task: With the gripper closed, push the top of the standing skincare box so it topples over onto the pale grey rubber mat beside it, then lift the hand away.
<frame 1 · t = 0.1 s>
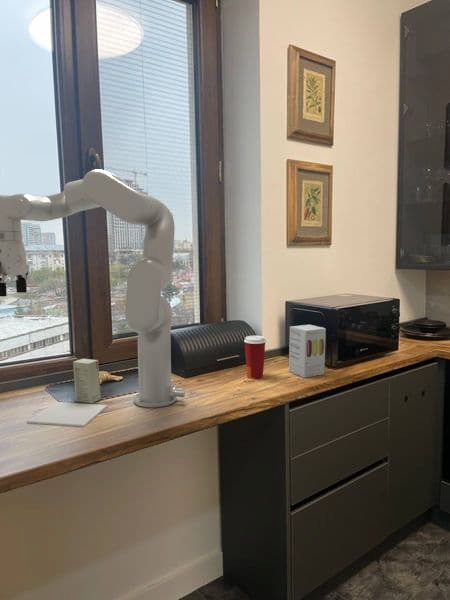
hand: (11, 294, 133), 31 cm above the worktop, tool pointing down, fingers open, 9 cm apart
supplement box: (306, 373, 157), on the worktop
skincare box: (88, 401, 130), on the worktop
paper cup: (254, 377, 153), on the worktop
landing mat: (69, 414, 119), on the worktop
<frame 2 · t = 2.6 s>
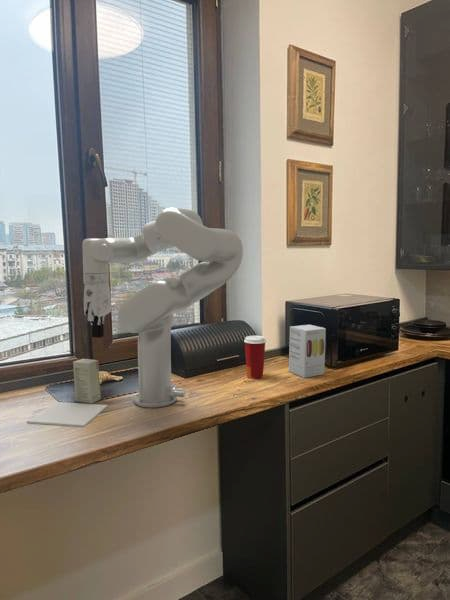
hand: (97, 336, 137), 17 cm above the worktop, tool pointing down, fingers closed
nothing on the worktop moved.
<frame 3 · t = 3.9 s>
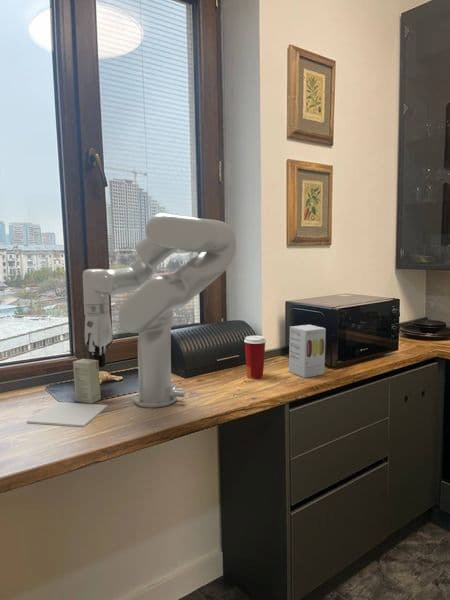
hand: (99, 366, 137), 8 cm above the worktop, tool pointing down, fingers closed
nothing on the worktop moved.
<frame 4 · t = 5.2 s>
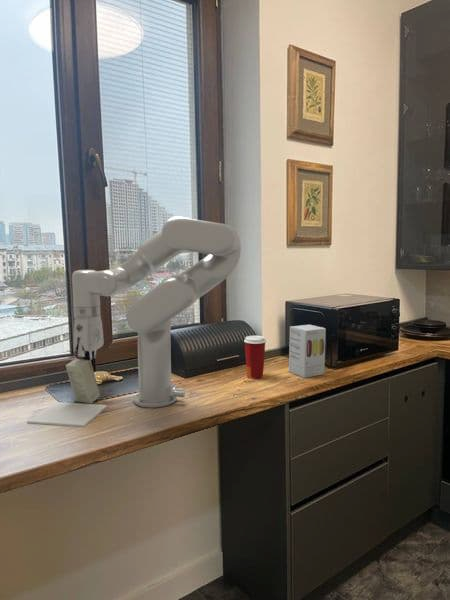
hand: (89, 371, 131), 8 cm above the worktop, tool pointing down, fingers closed
skincare box: (87, 399, 130), on the worktop, touching gripper
everything else where it was.
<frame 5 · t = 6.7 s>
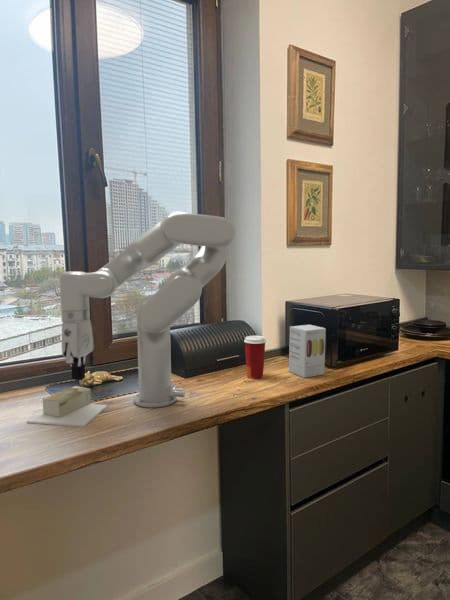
hand: (78, 378, 124), 8 cm above the worktop, tool pointing down, fingers closed
skincare box: (83, 393, 128), point 3 cm above the worktop, touching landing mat
everything else where it was.
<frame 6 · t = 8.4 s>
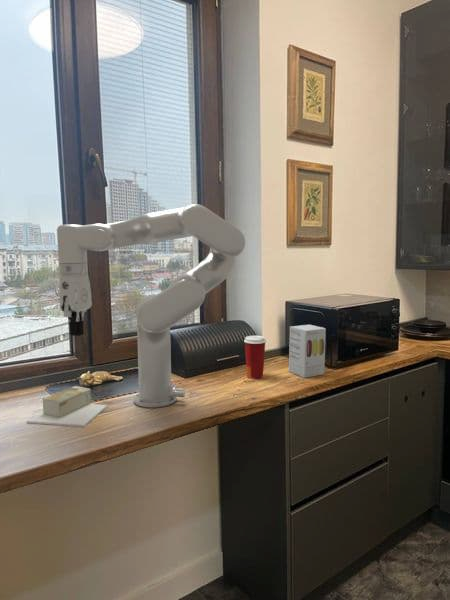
hand: (77, 334, 123), 21 cm above the worktop, tool pointing down, fingers closed
nothing on the worktop moved.
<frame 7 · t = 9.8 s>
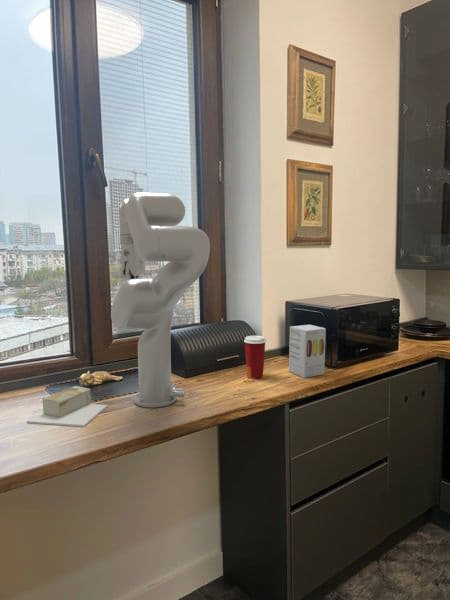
hand: (133, 296, 144), 29 cm above the worktop, tool pointing down, fingers closed
nothing on the worktop moved.
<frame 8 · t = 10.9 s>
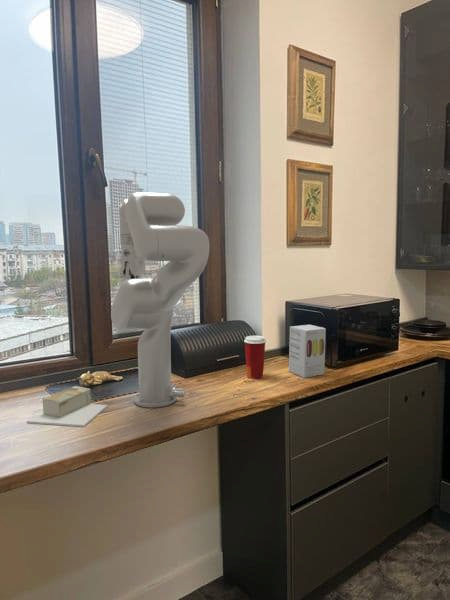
hand: (133, 296, 144), 29 cm above the worktop, tool pointing down, fingers closed
nothing on the worktop moved.
at the end: skincare box tilted 90°; skincare box touching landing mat; skincare box inside the target area (5.2 cm from its centre), point 2.6 cm above the worktop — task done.
